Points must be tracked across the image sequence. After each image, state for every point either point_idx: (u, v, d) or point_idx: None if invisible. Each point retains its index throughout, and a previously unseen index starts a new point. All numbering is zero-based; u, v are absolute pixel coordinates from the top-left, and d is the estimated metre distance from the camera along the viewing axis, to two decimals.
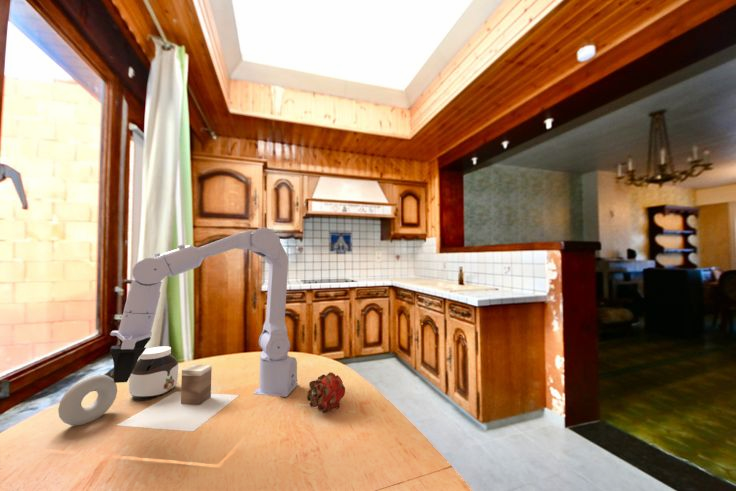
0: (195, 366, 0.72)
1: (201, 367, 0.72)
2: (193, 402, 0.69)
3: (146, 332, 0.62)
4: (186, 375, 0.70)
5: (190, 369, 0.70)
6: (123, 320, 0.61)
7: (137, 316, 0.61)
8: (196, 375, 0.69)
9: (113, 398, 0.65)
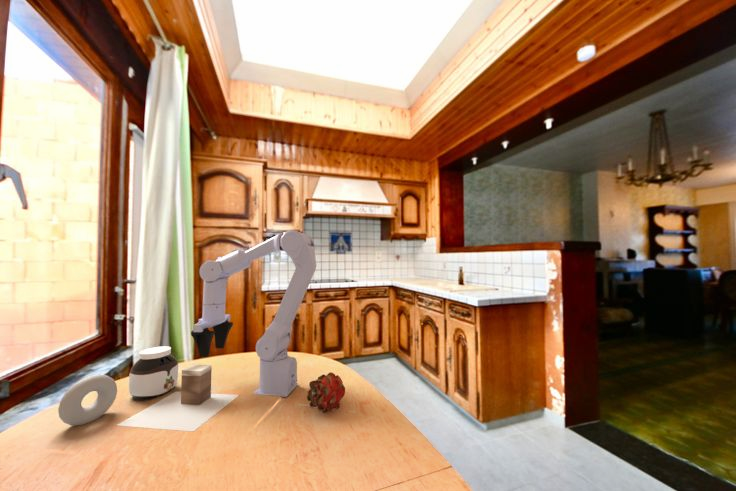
0: (195, 366, 0.72)
1: (201, 367, 0.72)
2: (193, 402, 0.69)
3: (217, 319, 0.79)
4: (186, 375, 0.70)
5: (190, 369, 0.70)
6: None
7: (208, 307, 0.78)
8: (196, 375, 0.69)
9: (113, 398, 0.65)
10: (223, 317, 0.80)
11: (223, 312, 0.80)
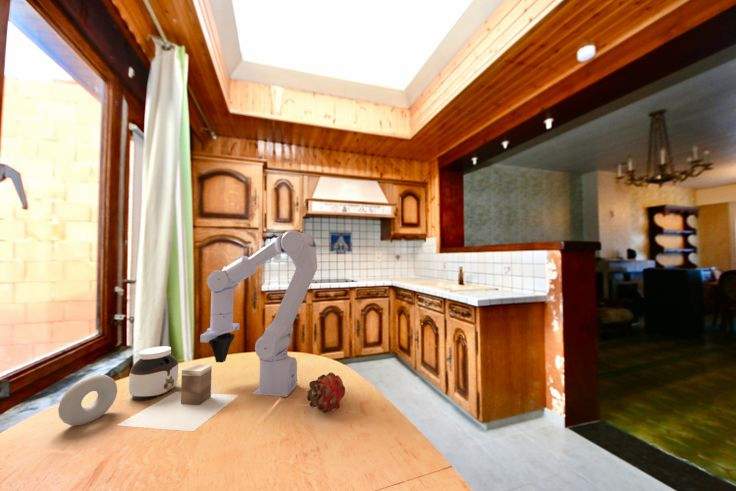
0: (195, 366, 0.72)
1: (201, 367, 0.72)
2: (193, 402, 0.69)
3: (224, 329, 0.79)
4: (186, 375, 0.70)
5: (190, 369, 0.70)
6: None
7: (215, 317, 0.79)
8: (196, 375, 0.69)
9: (113, 398, 0.65)
10: (230, 327, 0.81)
11: (230, 322, 0.81)
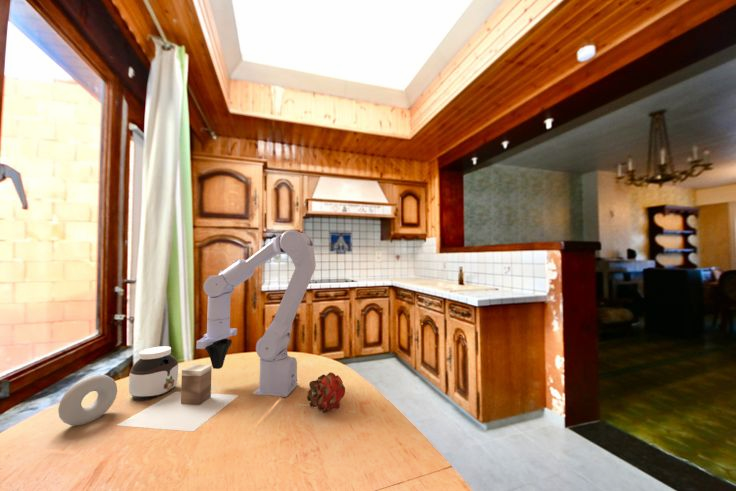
0: (195, 366, 0.72)
1: (201, 367, 0.72)
2: (193, 402, 0.69)
3: (221, 334, 0.78)
4: (186, 375, 0.70)
5: (190, 369, 0.70)
6: (207, 325, 0.79)
7: (212, 322, 0.77)
8: (196, 375, 0.69)
9: (113, 398, 0.65)
10: (227, 332, 0.79)
11: (227, 327, 0.79)
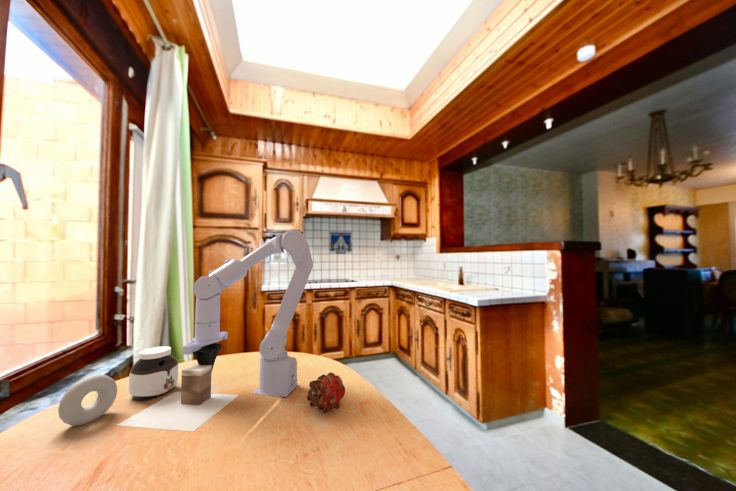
0: (195, 366, 0.72)
1: (201, 367, 0.72)
2: (193, 402, 0.69)
3: (209, 339, 0.73)
4: (186, 375, 0.70)
5: (190, 369, 0.70)
6: (195, 329, 0.74)
7: (200, 326, 0.73)
8: (196, 375, 0.69)
9: (113, 398, 0.65)
10: (216, 336, 0.75)
11: (216, 331, 0.75)
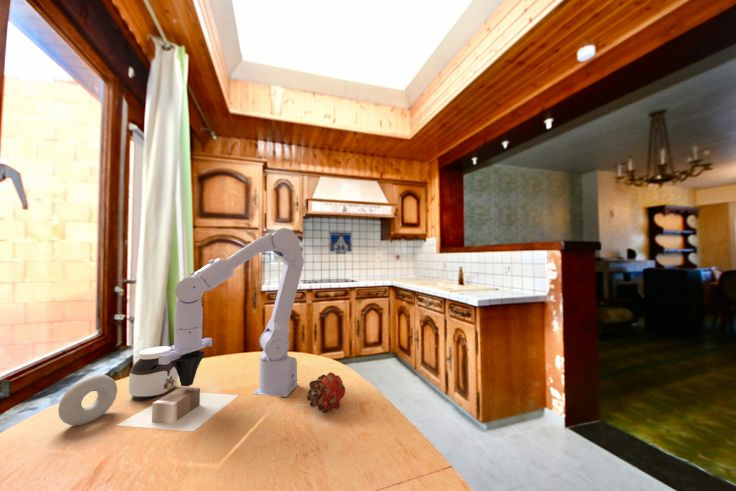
0: (158, 409, 0.61)
1: (166, 411, 0.61)
2: None
3: (190, 346, 0.67)
4: None
5: (159, 419, 0.61)
6: (174, 336, 0.67)
7: (179, 332, 0.66)
8: None
9: (113, 398, 0.65)
10: (198, 344, 0.68)
11: (198, 338, 0.68)
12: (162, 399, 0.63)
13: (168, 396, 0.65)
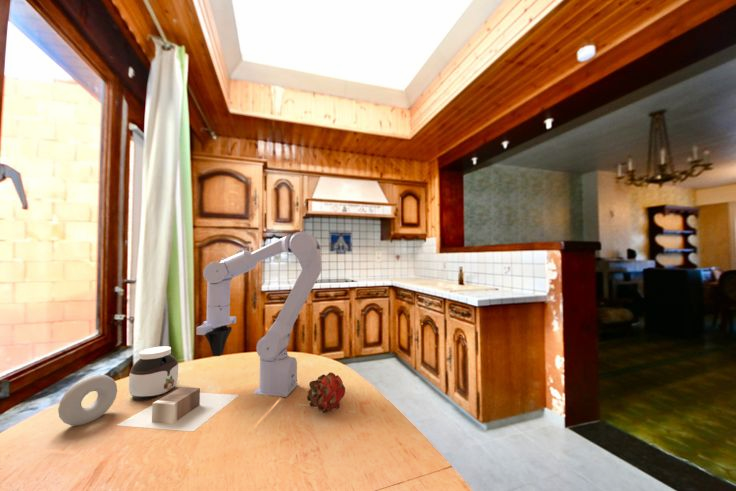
0: (158, 409, 0.61)
1: (166, 411, 0.61)
2: None
3: (221, 321, 0.77)
4: None
5: (159, 419, 0.61)
6: None
7: (212, 309, 0.76)
8: None
9: (113, 398, 0.65)
10: (227, 319, 0.79)
11: (227, 314, 0.79)
12: (162, 399, 0.63)
13: (168, 396, 0.65)
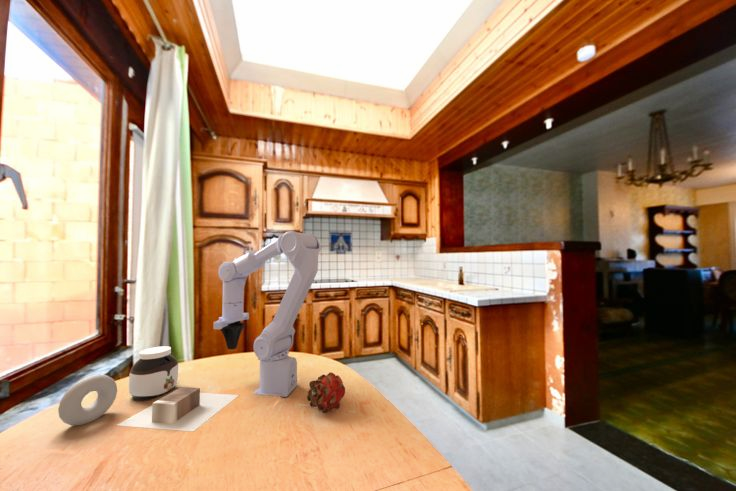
0: (158, 409, 0.61)
1: (166, 411, 0.61)
2: None
3: (235, 317, 0.83)
4: None
5: (159, 419, 0.61)
6: (222, 308, 0.84)
7: (227, 305, 0.82)
8: None
9: (113, 398, 0.65)
10: (241, 315, 0.84)
11: (241, 310, 0.84)
12: (162, 399, 0.63)
13: (168, 396, 0.65)
